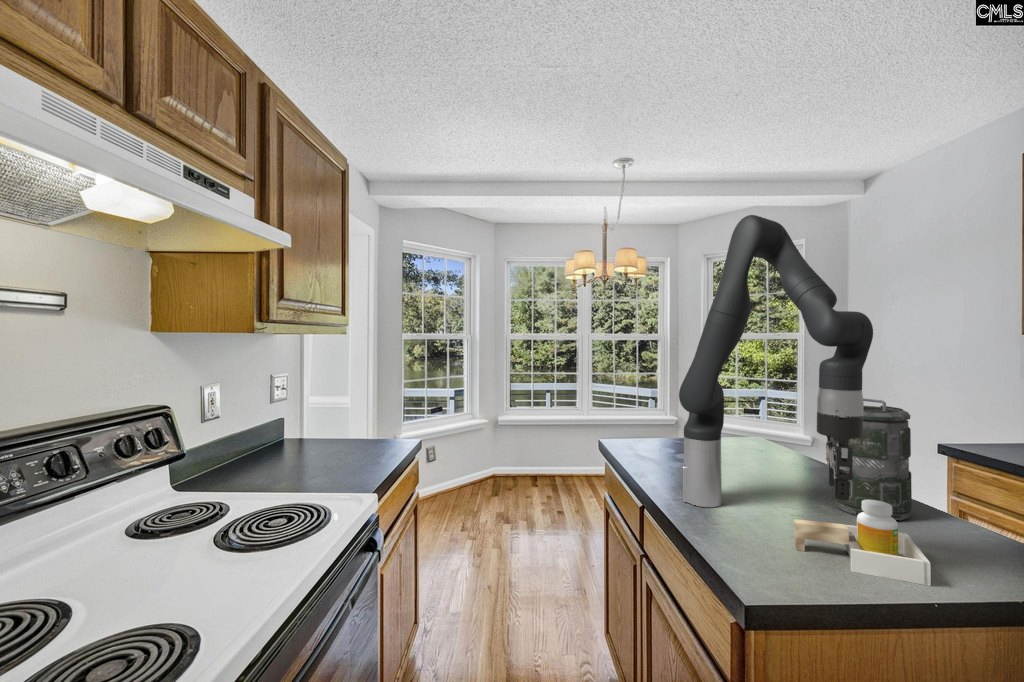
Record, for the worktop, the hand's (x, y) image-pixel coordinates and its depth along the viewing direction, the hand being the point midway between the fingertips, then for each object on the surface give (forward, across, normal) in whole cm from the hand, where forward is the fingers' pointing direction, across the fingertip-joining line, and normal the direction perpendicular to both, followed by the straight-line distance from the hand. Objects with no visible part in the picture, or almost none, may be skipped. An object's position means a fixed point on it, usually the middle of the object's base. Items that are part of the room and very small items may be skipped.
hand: (838, 492), depth 91 cm
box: (+12, 0, +7) cm, 14 cm away
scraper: (+12, 0, -2) cm, 13 cm away
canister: (+13, -33, +11) cm, 37 cm away
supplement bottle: (+13, 0, +6) cm, 14 cm away
